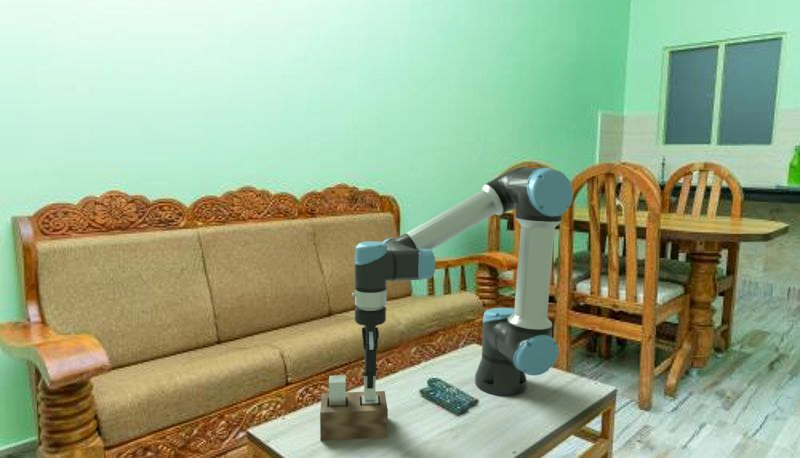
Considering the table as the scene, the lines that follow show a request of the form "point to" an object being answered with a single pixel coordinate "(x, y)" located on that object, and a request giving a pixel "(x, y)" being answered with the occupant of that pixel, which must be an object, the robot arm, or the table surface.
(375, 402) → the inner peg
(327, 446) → the table surface
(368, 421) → the wooden peg hole block
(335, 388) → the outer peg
